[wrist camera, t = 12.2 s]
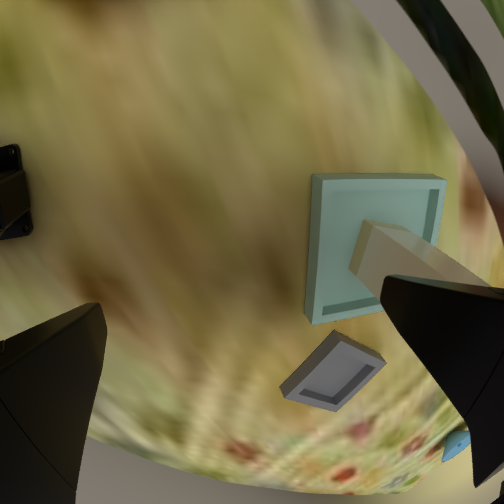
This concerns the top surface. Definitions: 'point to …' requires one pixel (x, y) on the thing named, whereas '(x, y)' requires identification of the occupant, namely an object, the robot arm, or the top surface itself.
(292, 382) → the small gray square tray
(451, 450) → the blue small pieces
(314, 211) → the parts tray
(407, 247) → the block
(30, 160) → the top surface
